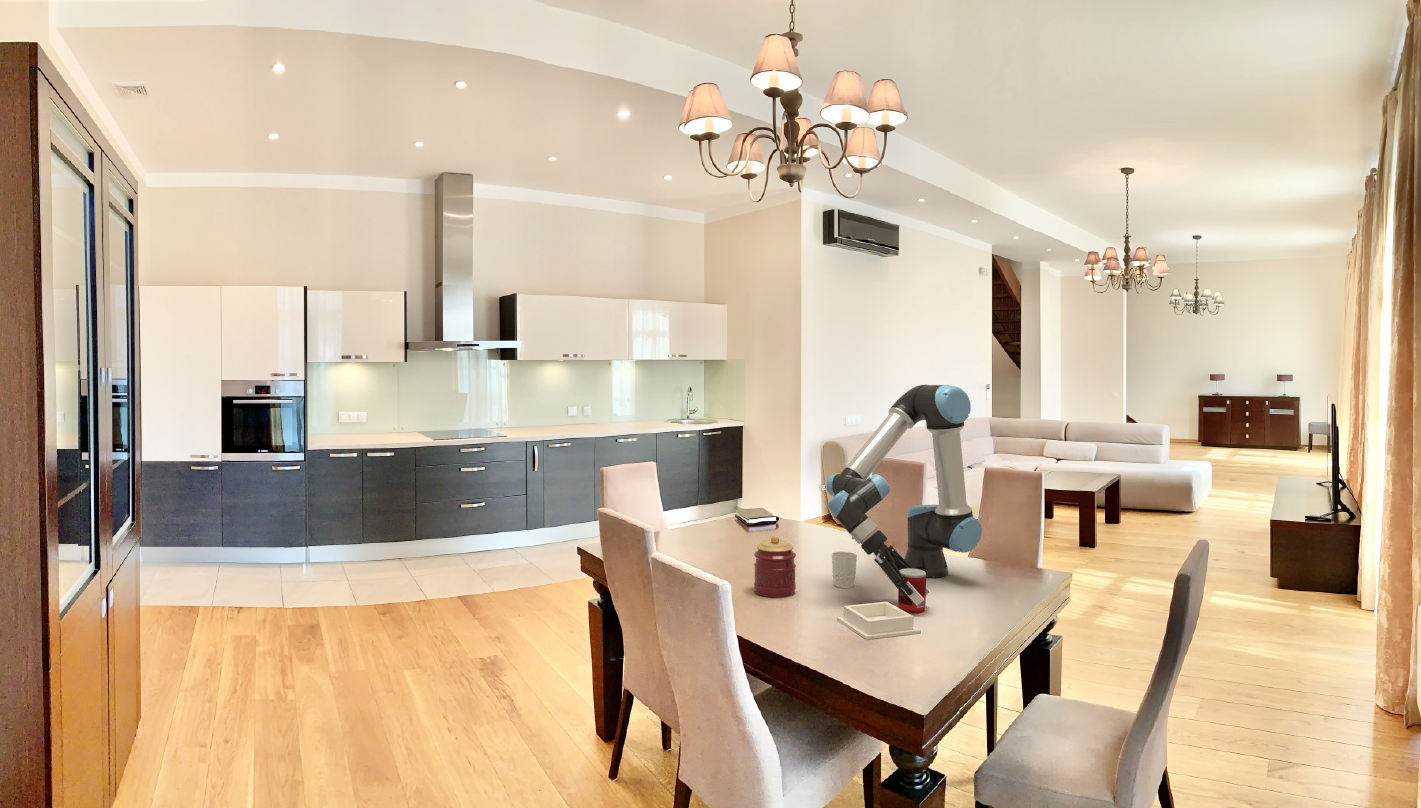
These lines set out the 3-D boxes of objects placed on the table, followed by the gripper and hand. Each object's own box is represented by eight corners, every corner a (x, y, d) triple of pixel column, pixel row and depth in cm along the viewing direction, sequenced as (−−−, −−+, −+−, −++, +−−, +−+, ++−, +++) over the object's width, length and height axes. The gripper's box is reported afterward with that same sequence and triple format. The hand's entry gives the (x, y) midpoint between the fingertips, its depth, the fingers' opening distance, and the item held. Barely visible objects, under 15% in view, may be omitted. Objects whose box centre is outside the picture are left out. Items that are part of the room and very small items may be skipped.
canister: (802, 596, 232) (802, 538, 231) (762, 599, 229) (762, 541, 228) (786, 584, 245) (786, 530, 244) (748, 587, 241) (748, 532, 240)
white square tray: (888, 614, 215) (888, 599, 215) (920, 633, 200) (920, 617, 200) (837, 620, 210) (837, 604, 210) (866, 639, 195) (866, 623, 195)
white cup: (856, 589, 239) (856, 558, 239) (830, 588, 241) (831, 556, 240) (856, 582, 247) (856, 552, 247) (832, 581, 249) (832, 550, 248)
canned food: (926, 606, 222) (926, 569, 222) (924, 614, 215) (925, 576, 214) (899, 603, 225) (900, 567, 224) (896, 612, 217) (897, 573, 217)
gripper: (869, 538, 235) (921, 596, 229) (850, 552, 217) (906, 616, 210) (887, 522, 232) (940, 581, 226) (868, 535, 214) (926, 600, 207)
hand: (923, 598), depth 218 cm, fingers closed on canned food, 8 cm apart
